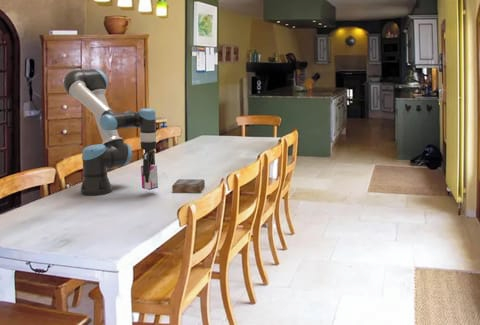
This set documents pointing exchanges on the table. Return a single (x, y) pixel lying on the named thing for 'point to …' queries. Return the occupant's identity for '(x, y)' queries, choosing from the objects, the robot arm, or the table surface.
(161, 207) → the table surface
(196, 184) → the walnut stand
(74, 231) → the table surface
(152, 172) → the supplement box
